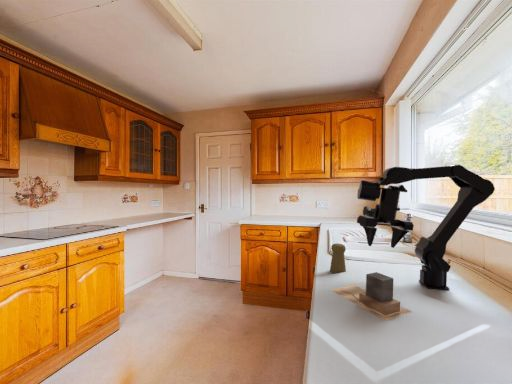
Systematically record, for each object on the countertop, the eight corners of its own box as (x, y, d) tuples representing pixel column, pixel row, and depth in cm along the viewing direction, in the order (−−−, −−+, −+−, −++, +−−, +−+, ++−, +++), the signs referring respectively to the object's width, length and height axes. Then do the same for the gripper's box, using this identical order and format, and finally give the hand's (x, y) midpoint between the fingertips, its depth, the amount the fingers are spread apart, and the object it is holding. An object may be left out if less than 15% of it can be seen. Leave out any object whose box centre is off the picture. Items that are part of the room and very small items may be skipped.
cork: (343, 276, 92) (343, 246, 91) (327, 272, 95) (327, 244, 95) (348, 271, 96) (348, 243, 96) (332, 268, 100) (333, 241, 100)
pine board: (330, 293, 77) (330, 289, 77) (354, 287, 81) (354, 284, 81) (386, 324, 60) (386, 320, 60) (412, 315, 64) (412, 311, 64)
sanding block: (359, 303, 68) (359, 272, 68) (373, 299, 71) (373, 270, 70) (385, 317, 61) (386, 283, 61) (399, 312, 63) (400, 279, 63)
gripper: (394, 202, 96) (387, 241, 98) (351, 197, 93) (345, 238, 94) (418, 207, 86) (410, 251, 87) (370, 201, 82) (362, 247, 83)
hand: (381, 246), depth 88 cm, fingers open, 9 cm apart
